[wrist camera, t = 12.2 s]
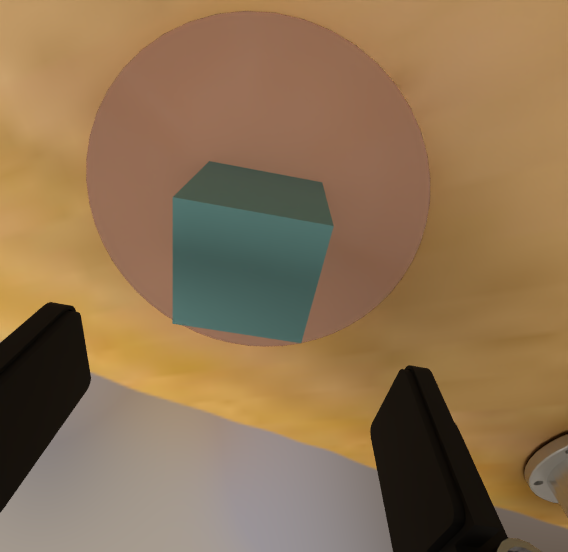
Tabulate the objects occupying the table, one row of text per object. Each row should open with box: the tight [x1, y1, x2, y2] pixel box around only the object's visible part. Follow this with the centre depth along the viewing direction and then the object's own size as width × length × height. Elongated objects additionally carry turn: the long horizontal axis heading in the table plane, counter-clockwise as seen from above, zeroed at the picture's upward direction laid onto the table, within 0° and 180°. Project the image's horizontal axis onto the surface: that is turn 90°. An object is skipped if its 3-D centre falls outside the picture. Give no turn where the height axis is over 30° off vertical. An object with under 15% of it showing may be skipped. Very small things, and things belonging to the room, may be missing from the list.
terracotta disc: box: [86, 11, 430, 346], centre depth 19 cm, size 19×19×1 cm
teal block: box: [173, 161, 334, 343], centre depth 16 cm, size 6×6×6 cm
